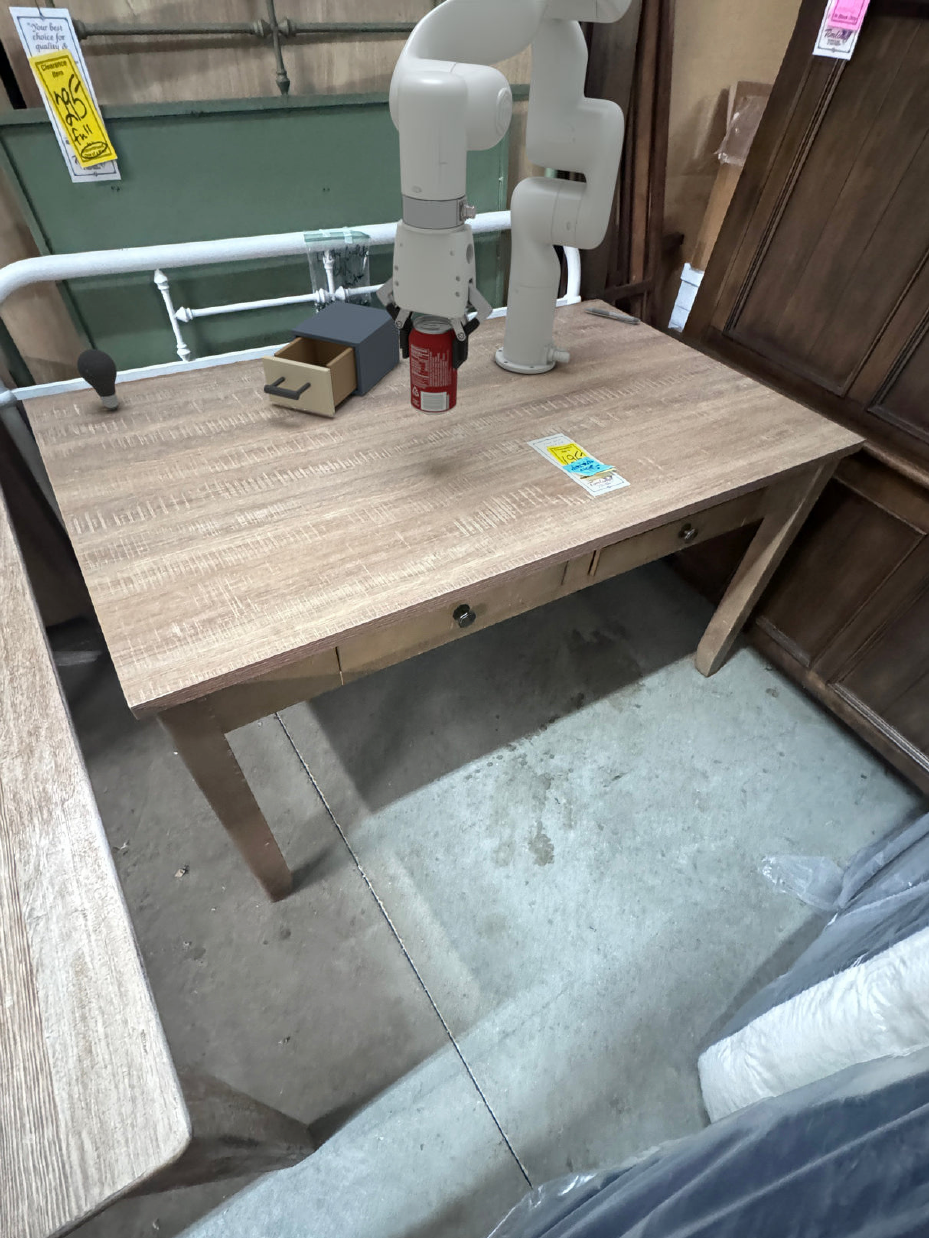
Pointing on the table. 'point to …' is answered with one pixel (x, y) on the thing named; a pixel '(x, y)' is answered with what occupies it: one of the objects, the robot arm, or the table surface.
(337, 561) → the table surface
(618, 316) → the pen
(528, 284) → the robot arm
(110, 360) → the light bulb
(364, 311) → the cabinet
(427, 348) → the soda can
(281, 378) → the drawer
